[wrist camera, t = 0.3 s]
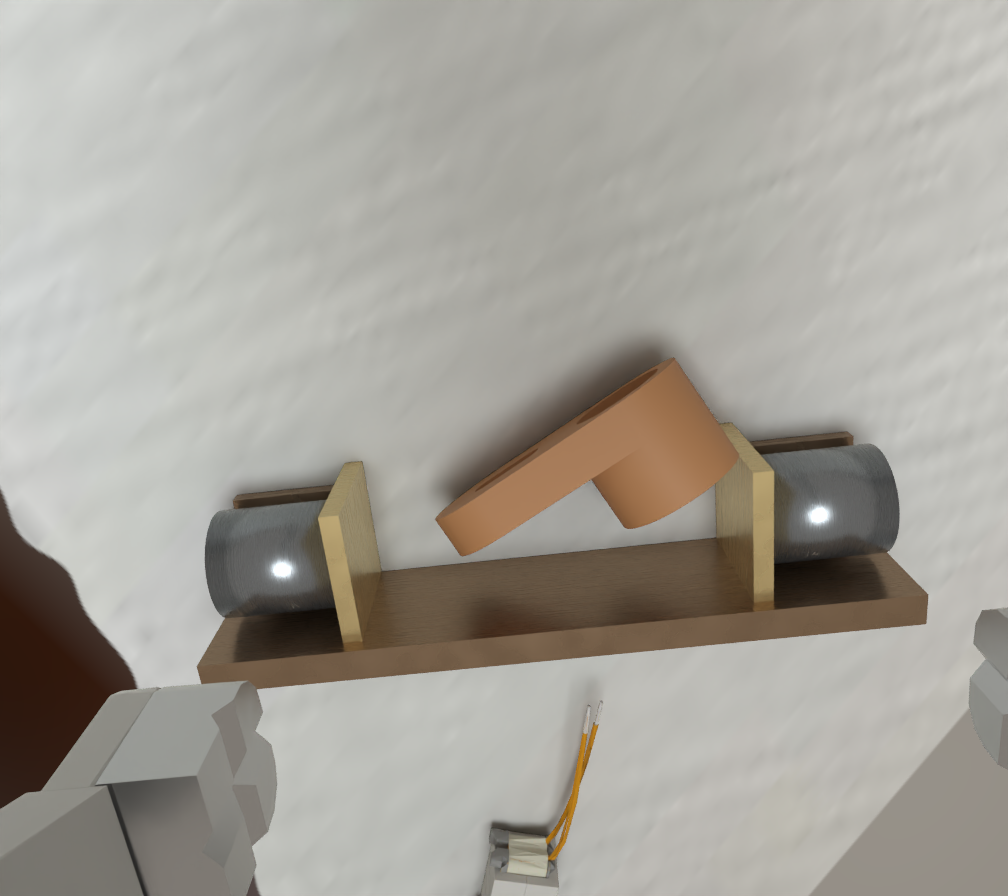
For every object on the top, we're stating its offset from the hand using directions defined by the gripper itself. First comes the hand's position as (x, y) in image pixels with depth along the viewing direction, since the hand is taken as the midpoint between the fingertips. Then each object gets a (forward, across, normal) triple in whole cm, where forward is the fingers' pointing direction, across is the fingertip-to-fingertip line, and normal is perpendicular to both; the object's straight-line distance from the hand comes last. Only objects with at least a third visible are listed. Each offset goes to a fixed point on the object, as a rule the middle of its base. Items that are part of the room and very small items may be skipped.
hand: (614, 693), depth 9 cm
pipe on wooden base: (+45, 0, +17) cm, 48 cm away
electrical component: (+45, +3, +42) cm, 62 cm away
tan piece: (+41, -1, +11) cm, 42 cm away
